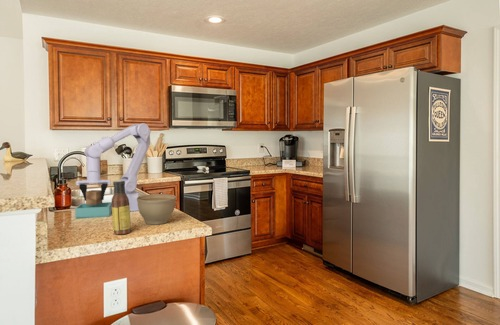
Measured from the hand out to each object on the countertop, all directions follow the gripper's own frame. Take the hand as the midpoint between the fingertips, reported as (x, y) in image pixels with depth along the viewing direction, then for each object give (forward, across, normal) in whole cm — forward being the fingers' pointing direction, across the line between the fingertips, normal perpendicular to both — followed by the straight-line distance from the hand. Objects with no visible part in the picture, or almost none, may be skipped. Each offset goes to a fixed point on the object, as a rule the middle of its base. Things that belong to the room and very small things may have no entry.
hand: (94, 200), depth 160 cm
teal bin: (+7, 0, 0) cm, 7 cm away
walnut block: (+2, 0, 0) cm, 2 cm away
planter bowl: (+7, -28, +23) cm, 37 cm away
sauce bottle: (+7, -15, +37) cm, 41 cm away
